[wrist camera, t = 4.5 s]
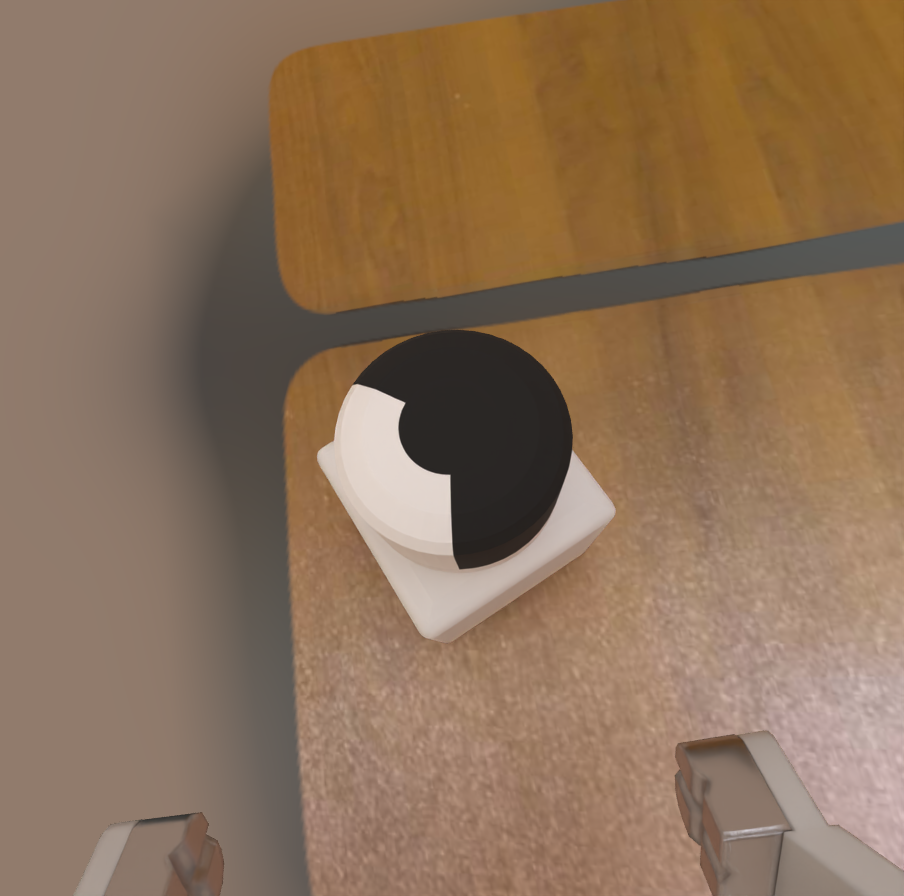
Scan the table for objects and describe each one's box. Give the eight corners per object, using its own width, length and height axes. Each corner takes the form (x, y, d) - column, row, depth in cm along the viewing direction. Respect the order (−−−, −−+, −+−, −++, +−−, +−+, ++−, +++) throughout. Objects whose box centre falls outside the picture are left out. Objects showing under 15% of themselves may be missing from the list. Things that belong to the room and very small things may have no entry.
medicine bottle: (493, 416, 28) (490, 250, 16) (589, 549, 26) (663, 463, 14) (357, 502, 27) (254, 390, 16) (444, 647, 25) (399, 639, 13)
